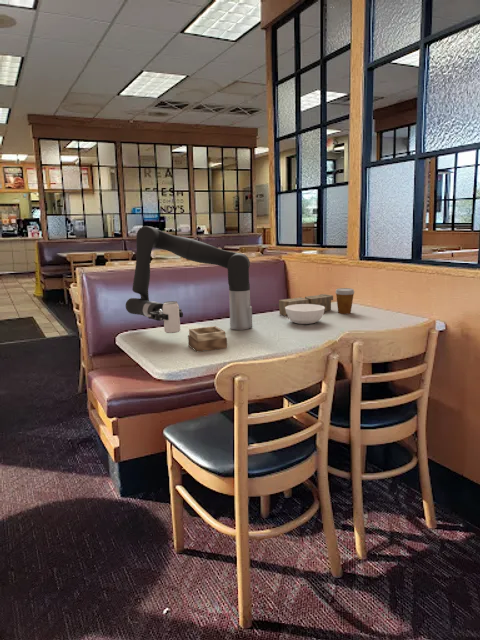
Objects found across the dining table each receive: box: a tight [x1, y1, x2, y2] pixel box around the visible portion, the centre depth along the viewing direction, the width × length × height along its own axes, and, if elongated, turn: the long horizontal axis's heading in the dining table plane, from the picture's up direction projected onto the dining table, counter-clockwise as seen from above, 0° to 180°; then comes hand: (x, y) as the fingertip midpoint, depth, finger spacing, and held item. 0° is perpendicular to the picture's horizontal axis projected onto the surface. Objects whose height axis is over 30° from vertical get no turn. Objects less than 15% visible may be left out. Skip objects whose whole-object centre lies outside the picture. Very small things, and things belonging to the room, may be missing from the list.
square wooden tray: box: [188, 325, 227, 341], centre depth 188 cm, size 11×11×2 cm
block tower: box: [278, 293, 334, 317], centre depth 251 cm, size 8×8×29 cm
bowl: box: [285, 304, 325, 325], centre depth 227 cm, size 18×18×7 cm
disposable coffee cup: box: [335, 287, 355, 315], centre depth 246 cm, size 10×10×12 cm
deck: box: [187, 335, 228, 352], centre depth 189 cm, size 12×11×4 cm
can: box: [162, 300, 181, 334], centre depth 197 cm, size 6×6×12 cm
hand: (174, 316), depth 195 cm, fingers closed on can, 6 cm apart
